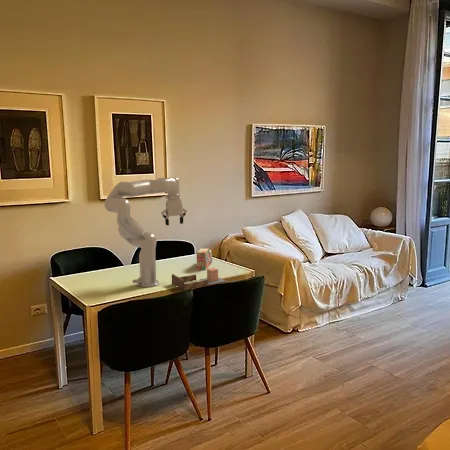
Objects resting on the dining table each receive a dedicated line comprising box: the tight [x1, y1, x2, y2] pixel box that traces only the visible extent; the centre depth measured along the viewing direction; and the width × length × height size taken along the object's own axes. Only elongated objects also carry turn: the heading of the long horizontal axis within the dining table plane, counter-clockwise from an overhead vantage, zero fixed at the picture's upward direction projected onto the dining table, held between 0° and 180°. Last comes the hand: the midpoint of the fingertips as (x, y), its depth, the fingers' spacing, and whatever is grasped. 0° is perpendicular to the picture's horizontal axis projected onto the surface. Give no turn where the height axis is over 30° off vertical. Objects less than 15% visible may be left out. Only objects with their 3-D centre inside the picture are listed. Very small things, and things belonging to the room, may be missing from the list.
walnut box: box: [171, 273, 208, 291], centre depth 274 cm, size 16×15×6 cm
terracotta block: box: [206, 267, 219, 282], centre depth 282 cm, size 5×5×7 cm
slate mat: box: [199, 276, 227, 286], centre depth 283 cm, size 12×12×1 cm
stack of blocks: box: [196, 247, 213, 271], centre depth 318 cm, size 21×6×12 cm, turn 170°
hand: (174, 224), depth 290 cm, fingers open, 9 cm apart
